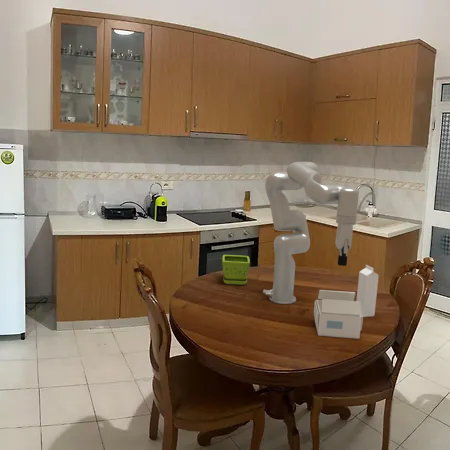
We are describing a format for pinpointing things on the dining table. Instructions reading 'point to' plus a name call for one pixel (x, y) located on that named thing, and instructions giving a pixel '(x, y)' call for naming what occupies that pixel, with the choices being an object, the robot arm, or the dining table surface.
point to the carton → (337, 323)
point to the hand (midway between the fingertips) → (342, 264)
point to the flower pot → (230, 269)
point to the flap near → (341, 306)
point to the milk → (367, 291)
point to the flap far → (336, 295)
